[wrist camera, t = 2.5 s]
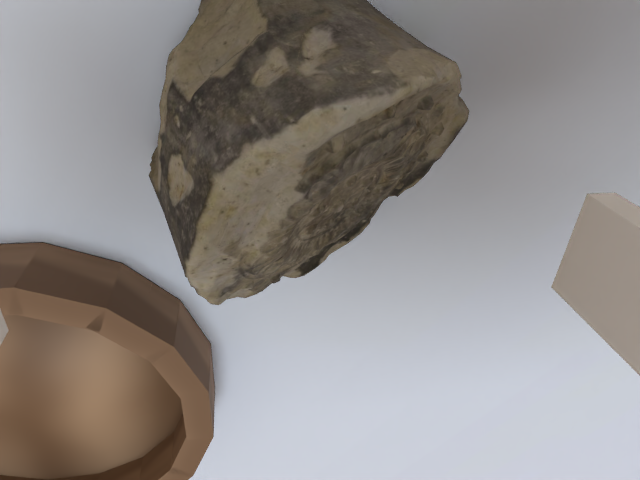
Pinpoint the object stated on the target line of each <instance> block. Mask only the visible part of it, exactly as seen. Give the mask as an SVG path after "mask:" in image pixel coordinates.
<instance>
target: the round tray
mask: <svg viewBox="0 0 640 480" xmlns="http://www.w3.org/2000/svg"><path fill="white" fill-rule="evenodd" d="M0 310H1V312H2V315H3V317H4V320H5V322H6V325H7V328H8V330H9V331H8V333H7V334H6V336H5V338H4V340H3V342H2V343H1V345H0V480H188V479H189V478H191V477H192V476H193V475H194V473H195V471H196V469H197V467H198V465H199V463H200V461H201V460H202V458H203V456H204V454H205V452H206V450H207V448H208V446H209V444H210V442H211V440H212V438H213V434H214V399H215V385H214V374H213V363H212V352H211V344H210V342H209V341H208V339H207V338H206V337H205V335H204V334H203V332H202V331H201V329H200V328H199V327H198V325H197V324H196V322H195V321H194V319H193V318H192V317H191V315H190V314H189V312H188V311H187V309H186V308H185V306H184V305H183V304H182V302H181V301H180V300H179V299H177V298H176V297H174V296H173V295H171V294H170V293H168V292H166V291H165V290H163V289H162V288H160V287H159V286H157V285H155V284H154V283H152V282H151V281H149V280H148V279H146V278H144V277H143V276H141V275H140V274H138V273H137V272H135V271H133V270H132V269H130V268H129V267H127V266H126V265H124V264H122V263H119V262H115V261H112V260H108V259H104V258H100V257H96V256H92V255H89V254H85V253H81V252H77V251H73V250H69V249H66V248H62V247H58V246H54V245H50V244H46V243H18V244H0Z"/></svg>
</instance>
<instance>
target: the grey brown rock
mask: <svg viewBox="0 0 640 480" xmlns="http://www.w3.org/2000/svg"><path fill="white" fill-rule="evenodd" d="M460 79H461V74H460V71H459V68H458V65H457V64H456V62H454V61H452V60H450V59H449V58H447V57H445V56H443V55H441V54H440V53H438V52H436V51H434V50H432V49H430V48H429V47H427V46H426V45H424V44H423V43H421V42H420V41H418V40H417V39H416V38H414V37H413V36H411V35H410V34H408V33H407V32H406V31H404V30H403V29H401V28H400V27H399V26H397V25H396V24H395V23H393V22H392V21H391V20H389V19H388V18H387V17H385V16H384V15H383V14H382V13H380V12H379V11H378V10H377V9H376V8H374V7H373V6H372V5H371V4H370V3H369V2H368V1H367V0H201V3H200V7H199V14H198V16H197V18H196V19H195V21H194V23H193V24H192V25H191V26H190V28H189V30H188V32H187V34H186V36H185V37H184V39H183V40H182V42H181V43H180V44H179V45H177V46H176V47H175V48H174V49H173V50H172V51H171V53H170V54H169V57H168V62H167V66H166V79H165V83H164V87H163V90H162V95H161V100H160V104H159V107H160V117H161V126H160V132H159V135H158V147H157V148H156V150H155V151H154V153H153V155H152V157H151V158H152V162H151V164H150V166H151V172H150V174H149V177H150V180H151V182H152V184H153V187H154V189H155V192H156V194H157V197H158V199H159V202H160V204H161V207H162V209H163V212H164V214H165V217H166V220H167V223H168V226H169V229H170V232H171V235H172V238H173V240H174V243H175V246H176V249H177V252H178V255H179V258H180V261H181V264H182V267H183V270H184V273H185V277H187V278H188V280H189V283H190V285H191V286H192V287H194V288H195V290H196V292H197V293H198V295H200V296H202V297H204V298H205V299H206V300H207V301H208V302H209V303H211V304H215V305H219V304H221V303H222V302H224V301H225V300H226V299H230V298H235V297H243V298H247V297H249V296H252V295H255V294H257V293H259V292H261V291H263V290H264V289H265V288H266V287H268V286H269V285H270V284H272V283H276V282H278V281H280V278H281V277H282V276H286V277H290V278H297V277H300V276H304V275H305V274H307V273H309V272H310V271H312V270H313V269H315V268H316V267H318V266H319V265H320V264H321V263H322V262H323V261H324V260H326V258H327V257H328V255H329V254H331V253H332V252H334V251H336V250H337V249H339V248H341V247H342V246H344V245H345V244H347V243H349V242H350V241H351V240H353V239H354V238H355V237H357V236H358V235H359V234H360V233H362V231H363V230H364V229H365V228H366V227H367V225H368V224H369V223H370V220H371V218H372V217H373V216H374V214H375V213H376V211H377V210H378V208H379V206H380V205H381V203H382V202H383V200H385V199H386V198H388V197H389V196H397V197H398V196H399V195H400V194H401V193H402V192H403V191H404V190H406V189H408V188H410V187H412V186H414V185H415V184H416V183H417V182H418V181H419V180H420V179H421V178H423V177H424V176H425V174H426V173H427V172H428V171H429V170H430V168H431V166H432V165H433V163H434V162H436V161H437V160H438V159H439V158H441V156H442V155H443V153H444V152H445V150H446V149H447V148H448V147H449V145H450V144H451V143H452V142H453V140H454V139H455V137H456V136H457V135H458V133H459V132H460V130H461V129H462V127H463V126H464V125H465V123H466V122H467V119H468V114H469V110H468V108H467V107H466V105H465V103H464V102H463V100H462V99H461V98H460V97H459V96H458V95H459V94H460V92H461V90H462V89H461V84H460Z"/></svg>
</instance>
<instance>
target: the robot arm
mask: <svg viewBox="0 0 640 480" xmlns="http://www.w3.org/2000/svg"><path fill="white" fill-rule="evenodd" d="M552 288H553V289H554V290H555V291H556V292H557V293H558V294H559V295H560V296H561V297H562V298H563V299H564V300H565V301H566V302H567V303H568V304H569V305H570V306H571V307H572V308H573V309H574V310H575V311H576V312H577V313H578V314H579V315H580V316H581V317H582V318H583V319H584V320H585V321H586V322H587V323H588V324H589V325H590V326H591V327H592V328H593V329H594V330H595V331H596V332H597V333H598V334H599V335H600V336H601V337H602V338H603V339H604V340H605V341H606V342H607V343H608V344H609V345H610V346H611V347H612V348H613V349H614V350H615V351H616V352H617V353H618V354H619V355H620V356H621V357H622V358H623V359H624V360H625V361H626V362H627V363H628V364H629V365H630V366H631V367H632V368H633V369H634V370H635V371H636V372H637V373H638V374H639V375H640V207H638V206H637V205H635V204H633V203H632V202H630V201H628V200H627V199H625V198H623V197H622V196H620V195H618V194H617V193H593V194H587V196H586V198H585V201H584V204H583V206H582V209H581V211H580V214H579V217H578V219H577V222H576V224H575V227H574V230H573V232H572V235H571V237H570V240H569V243H568V245H567V248H566V250H565V253H564V256H563V258H562V261H561V264H560V266H559V269H558V271H557V274H556V277H555V279H554V282H553V284H552ZM8 331H9V330H8V328H7V325H6V322H5V320H4V317H3V315H2V312H1V310H0V345H1V343H2V342H3V340H4V338H5V336H6V334H7V333H8Z"/></svg>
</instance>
